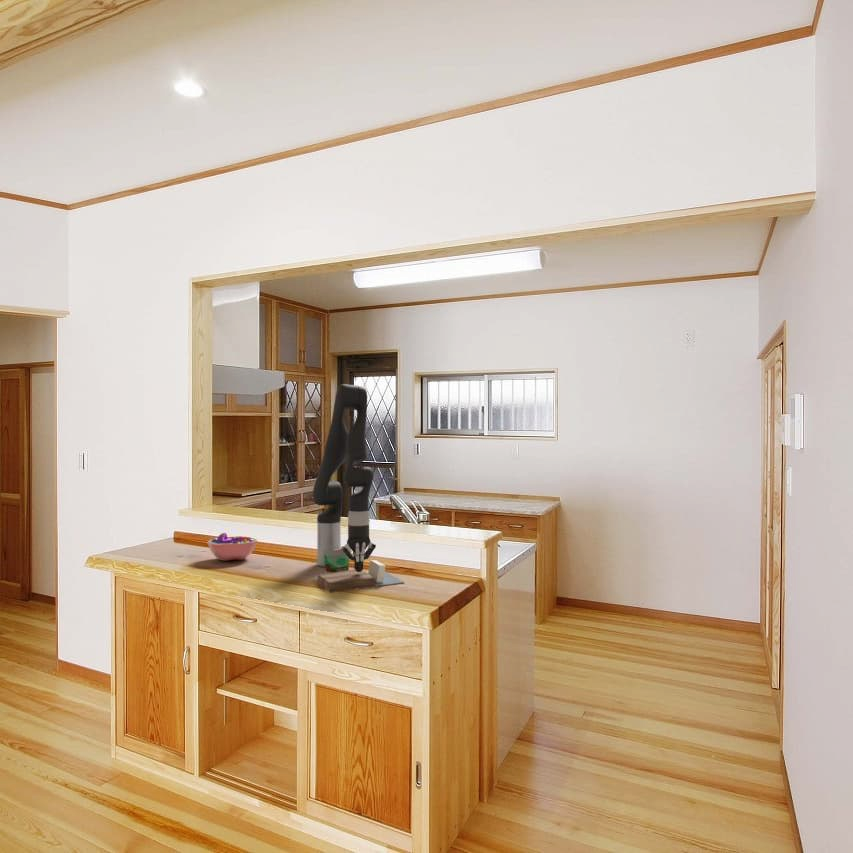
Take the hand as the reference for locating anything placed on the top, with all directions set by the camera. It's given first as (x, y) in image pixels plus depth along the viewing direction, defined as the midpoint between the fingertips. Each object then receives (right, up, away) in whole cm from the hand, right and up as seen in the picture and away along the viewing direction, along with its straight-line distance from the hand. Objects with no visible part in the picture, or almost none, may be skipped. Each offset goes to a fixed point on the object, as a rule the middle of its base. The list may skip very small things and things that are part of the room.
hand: (358, 571), depth 223 cm
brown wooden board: (-4, -4, -2) cm, 6 cm away
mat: (+8, -4, +4) cm, 10 cm away
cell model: (-56, -4, +35) cm, 66 cm away
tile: (+6, 0, +2) cm, 7 cm away
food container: (-8, -4, +12) cm, 15 cm away
